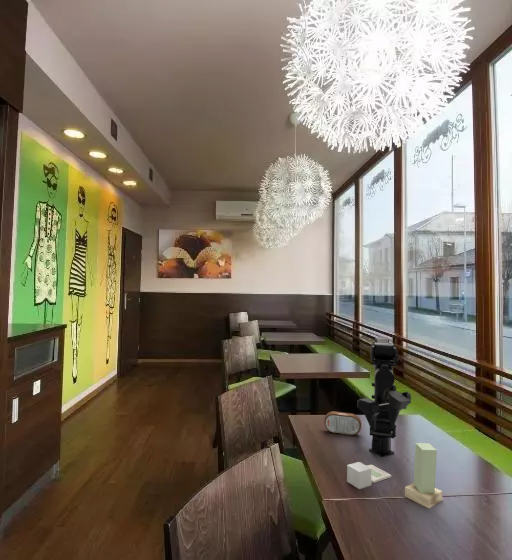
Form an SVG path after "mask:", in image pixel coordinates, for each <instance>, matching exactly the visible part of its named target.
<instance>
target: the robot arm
mask: <svg viewBox="0 0 512 560" xmlns="http://www.w3.org/2000/svg"><path fill="white" fill-rule="evenodd" d="M374 339H375V340H374V342H373V343H371V345H370V360H371V365H372V367H373V368H374V382H371V387H373V388H374V389H373V392H374V393H373V394H371V398H367V397H366V398H359V399H358V400H357V404H356V408H358V409H359V410H360V411H362V412H363V414H364V417H365V418H366V421H367V423H368V425H369V436H371V437H372V439H371V447H370V448H368V451H370V452H372V453H373V454H375V455H378V456H379V457H382V458H385V457H387V456H391V455H394V454H395V451H393V450H392V448H391V447H392V446H391V445H392V443H391V441H392V439H395V438H396V437H397V425H396V422H397V420H398V416H399V414H400V412H401V411H403V410H406V409H407V408H408V406H409V404H411V403H412V396H411V392H409V391H403V392H401V391H400V392H399V391H397V386H396V384H395V380H396V378H395V375H394V372H393V369H394V367H397V366H398V365H397V364H399V351H398V349H397V347H395V345H394V343H390V339H389V338H387V337H380V336H379V337H375V338H374Z"/></svg>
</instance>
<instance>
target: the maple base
mask: <svg viewBox="0 0 512 560" xmlns="http://www.w3.org/2000/svg"><path fill="white" fill-rule="evenodd" d="M404 497H405V498H408V499H409V500H411V501H414V502H415V503H417V504H419V505H421V506H423V507H424V508H427V509H430V508H433V506H436V505H438V504H439V503H441V502H443V490H441V489H439V488H436V487H435V493H420V492H419V490H418V489H417V488H416V487H415V486H414V482H412V483H410V484H409V485H406V486H404Z"/></svg>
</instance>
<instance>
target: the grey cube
mask: <svg viewBox="0 0 512 560" xmlns="http://www.w3.org/2000/svg"><path fill="white" fill-rule="evenodd" d="M346 467H347V468H346V482H347V483H348V484H350V485H352V486H353V487H355V488H356V489H358V490H361V489H364V488H368V487H371V486H372V482H371V468H370V467H368V465H365V464H364V463H363V462H361V461H357V462H353V463H350V464H347V465H346Z"/></svg>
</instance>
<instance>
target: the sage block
mask: <svg viewBox="0 0 512 560" xmlns="http://www.w3.org/2000/svg"><path fill="white" fill-rule="evenodd" d="M414 445H415V449H414V451H415V452H414V470H413V483H414V486H415V487H416V488H417V489H418V490H419V492H420V493H435V488H436V478H437V477H436V475H437V474H436V471H437V470H436V469H437V453H438V451H437V449H436V448H435V447H434V446H433V445H431V444H430V443H427V442H426V443H424V442H416V443H415V444H414Z"/></svg>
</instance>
